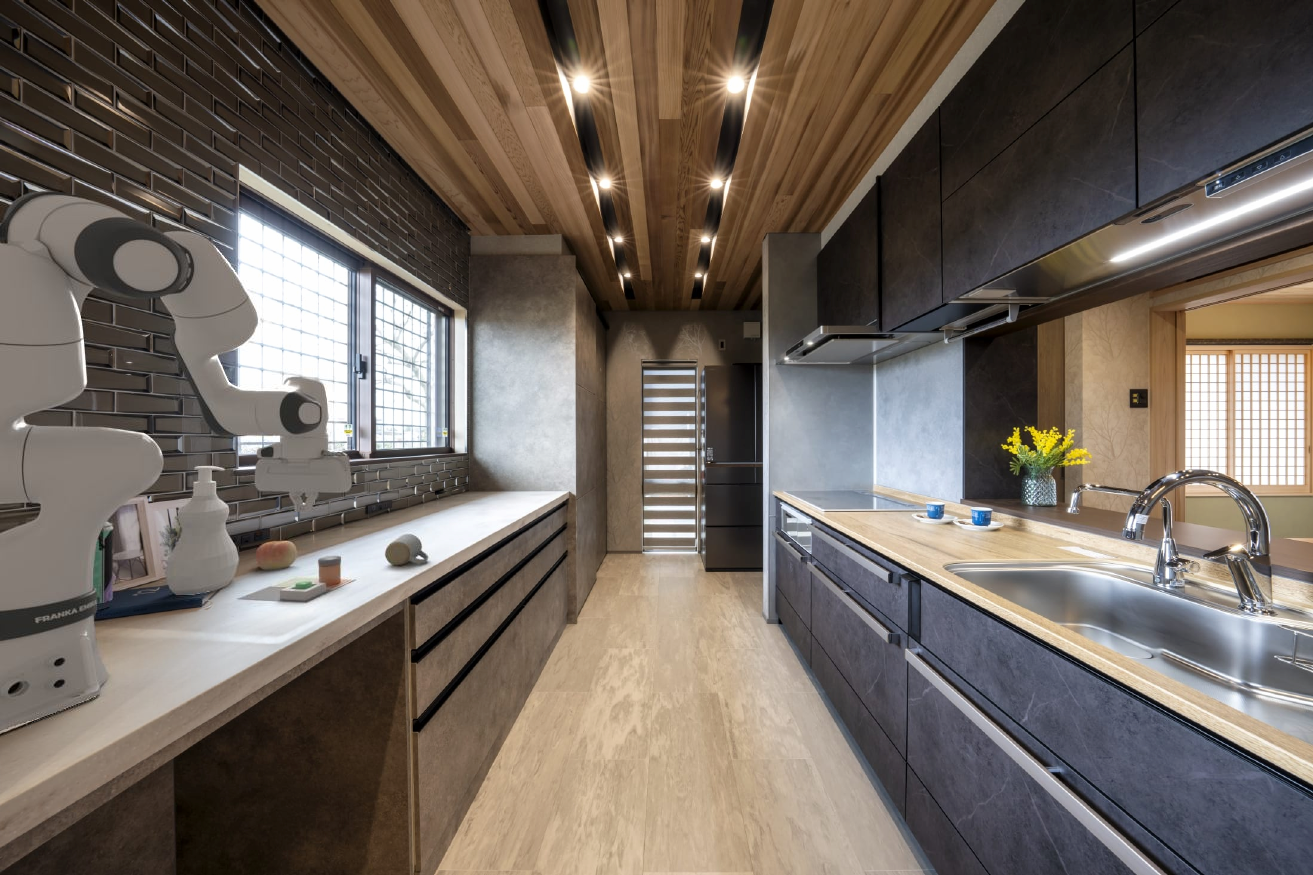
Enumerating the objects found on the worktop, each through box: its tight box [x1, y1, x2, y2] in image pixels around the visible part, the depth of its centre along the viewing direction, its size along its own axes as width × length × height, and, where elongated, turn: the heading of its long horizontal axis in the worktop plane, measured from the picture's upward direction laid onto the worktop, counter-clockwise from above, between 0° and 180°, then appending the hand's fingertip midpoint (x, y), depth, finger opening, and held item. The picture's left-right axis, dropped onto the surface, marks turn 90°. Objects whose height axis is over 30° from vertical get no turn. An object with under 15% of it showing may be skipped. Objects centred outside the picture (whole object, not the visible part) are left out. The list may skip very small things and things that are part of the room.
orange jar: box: [317, 555, 342, 586], centre depth 117 cm, size 5×5×6 cm
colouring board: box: [237, 576, 356, 604], centre depth 114 cm, size 16×16×3 cm
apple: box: [255, 540, 298, 571], centre depth 131 cm, size 9×9×8 cm
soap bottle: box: [164, 465, 240, 596], centre depth 113 cm, size 17×12×29 cm
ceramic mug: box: [384, 533, 429, 566], centre depth 141 cm, size 11×8×8 cm
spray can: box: [93, 521, 114, 604], centre depth 101 cm, size 6×6×20 cm
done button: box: [295, 581, 312, 589], centre depth 109 cm, size 3×3×2 cm
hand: (303, 511), depth 109 cm, fingers closed
